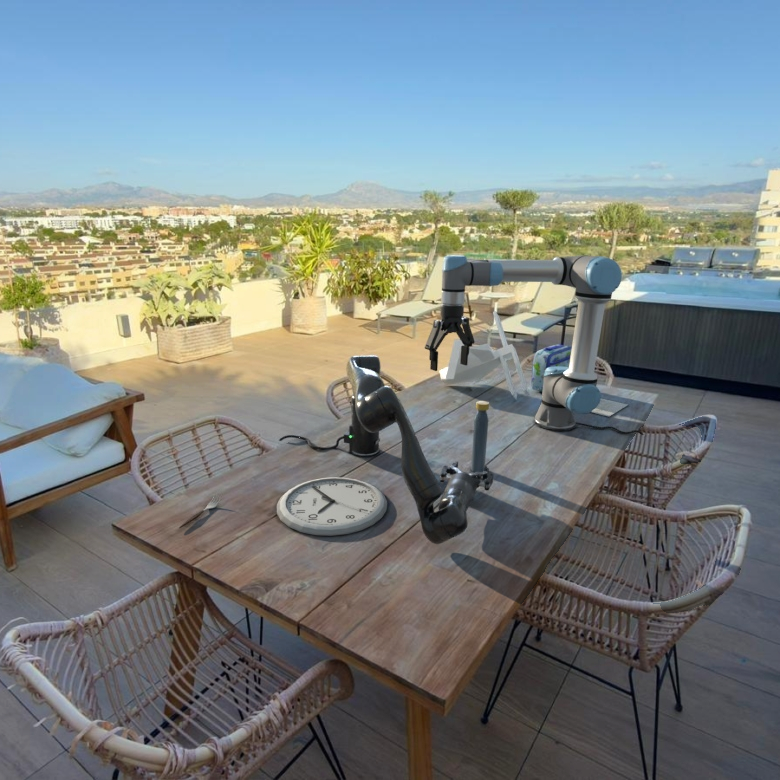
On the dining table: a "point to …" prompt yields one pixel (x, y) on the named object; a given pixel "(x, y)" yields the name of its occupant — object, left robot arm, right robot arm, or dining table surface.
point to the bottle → (479, 441)
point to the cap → (482, 405)
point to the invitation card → (608, 407)
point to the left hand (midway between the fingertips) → (471, 466)
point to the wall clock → (331, 506)
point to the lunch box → (548, 362)
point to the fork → (209, 506)
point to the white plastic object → (483, 363)
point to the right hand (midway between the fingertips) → (449, 367)
